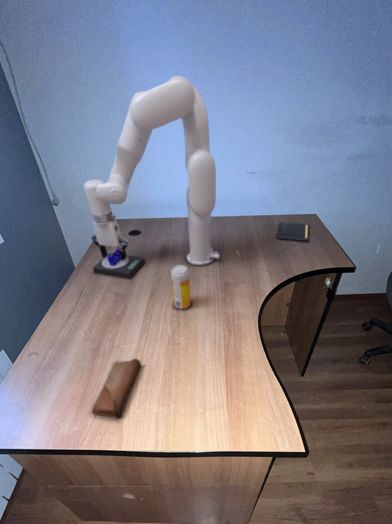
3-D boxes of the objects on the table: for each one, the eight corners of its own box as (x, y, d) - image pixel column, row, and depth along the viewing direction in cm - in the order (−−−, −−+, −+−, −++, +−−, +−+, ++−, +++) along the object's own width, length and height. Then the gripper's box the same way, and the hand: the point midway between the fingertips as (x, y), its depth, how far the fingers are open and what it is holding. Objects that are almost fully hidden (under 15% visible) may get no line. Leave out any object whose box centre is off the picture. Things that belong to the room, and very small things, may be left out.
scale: (144, 262, 122) (143, 256, 120) (130, 278, 113) (128, 272, 111) (110, 257, 127) (108, 251, 124) (94, 272, 118) (92, 266, 115)
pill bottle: (192, 301, 101) (191, 265, 90) (187, 311, 97) (184, 275, 86) (178, 298, 102) (174, 263, 92) (172, 308, 99) (167, 272, 88)
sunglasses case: (114, 361, 81) (120, 349, 76) (135, 370, 83) (142, 360, 78) (89, 414, 69) (95, 404, 64) (115, 423, 71) (122, 414, 66)
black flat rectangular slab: (281, 219, 146) (310, 222, 142) (280, 223, 147) (309, 226, 143) (277, 235, 133) (308, 238, 129) (276, 238, 134) (307, 242, 131)
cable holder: (116, 256, 121) (114, 247, 118) (123, 257, 120) (121, 248, 117) (107, 264, 116) (104, 256, 113) (114, 265, 115) (111, 257, 112)
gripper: (127, 215, 105) (135, 255, 117) (89, 211, 109) (102, 251, 121) (117, 222, 100) (127, 264, 113) (79, 218, 104) (93, 259, 117)
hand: (114, 257), depth 117 cm, fingers open, 9 cm apart
